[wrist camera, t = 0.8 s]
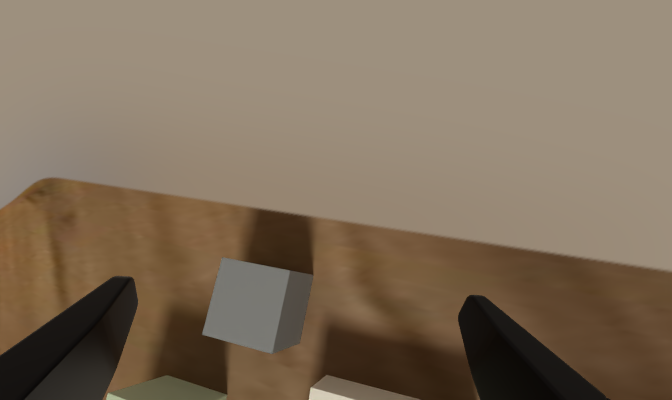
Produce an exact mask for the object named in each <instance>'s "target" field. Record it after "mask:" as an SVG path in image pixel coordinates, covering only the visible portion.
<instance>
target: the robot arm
mask: <svg viewBox="0 0 672 400" xmlns="http://www.w3.org/2000/svg"><path fill="white" fill-rule="evenodd" d="M137 306H138V298H137V292H136V287H135V282H134V279H133V278H132V277H127V276H114V277H112V278H110V279H109V280H108V281H106V282H105V283H103V284H102V285H100V286H99V287H97V288H96V289H95V290H93V291H92V292H90V293H89V294H87V295H86V296H85V297H83V298H82V299H80V300H79V301H77V302H76V303H75V304H73V305H72V306H70V307H69V308H67V309H66V310H65V311H63V312H62V313H60V314H59V315H57V316H56V317H55V318H53V319H52V320H50V321H49V322H47V323H46V324H45V325H43V326H42V327H40V328H39V329H37V330H36V331H35V332H33V333H32V334H30V335H29V336H27V337H26V338H25V339H23V340H22V341H20V342H19V343H17V344H16V345H14V346H13V347H12V348H10V349H9V350H7V351H6V352H4V353H3V354H2V355H0V400H102V399H103V397H104V395H105V393H106V390H107V388H108V386H109V384H110V382H111V380H112V377H113V375H114V373H115V371H116V368H117V365H118V363H119V360H120V357H121V354H122V351H123V348H124V345H125V342H126V339H127V336H128V333H129V330H130V327H131V325H132V322H133V319H134V316H135V313H136V310H137ZM458 322H459V326H460V330H461V334H462V339H463V343H464V347H465V351H466V355H467V359H468V363H469V367H470V371H471V374H472V377H473V380H474V383H475V386H476V389H477V392H478V395H479V397H480V400H610V399H609V398H606V396H605V395H604V394H603V393H601V392H600V391H599V390H598V389H597V388H595V387H594V386H593V385H592V384H590V383H589V382H588V381H587V380H586V379H584V378H583V377H582V376H581V375H580V374H578V373H577V372H576V371H575V370H573V369H572V368H571V367H570V366H569V365H567V364H566V363H565V362H564V361H562V360H561V359H560V358H559V357H558V356H556V355H555V354H554V353H553V352H552V351H550V350H549V349H548V348H547V347H545V346H544V345H543V344H542V343H541V342H539V341H538V340H537V339H536V338H534V337H533V336H532V335H531V334H530V333H528V332H527V331H526V330H525V329H524V328H522V327H521V326H520V325H519V324H517V323H516V322H515V321H514V320H513V319H511V318H510V317H509V316H508V315H506V314H505V313H504V312H503V311H502V310H500V309H499V308H498V307H497V306H496V305H494V304H493V303H492V302H491V301H489V300H488V299H487V298H486V297H484V296H481V295H469V296H468V297H467V299H466V301H465V302H464V304H463V306H462V308H461V310H460V312H459V315H458Z"/></svg>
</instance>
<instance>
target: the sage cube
mask: <svg viewBox="0 0 672 400" xmlns="http://www.w3.org/2000/svg"><path fill="white" fill-rule="evenodd" d="M226 398H227V394H224V393H221V392H218V391H214V390H211V389H208V388H205V387H202V386H199V385H196V384H193V383H190V382H187V381H184V380H181V379H178V378H175V377H172V376H169V375H166V376H162V377H159V378H156V379H153V380H149V381H146V382H143V383H140V384H136V385H133V386H130V387H127V388H123V389H120V390H117V391H114V392H111V393H108V396H107V399H106V400H226Z"/></svg>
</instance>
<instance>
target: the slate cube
mask: <svg viewBox="0 0 672 400" xmlns="http://www.w3.org/2000/svg"><path fill="white" fill-rule="evenodd" d="M312 280H313V275H311V274H306V273H301V272H296V271H291V270H286V269H281V268H276V267H271V266H266V265H261V264H255V263H250V262H245V261H239V260H234V259H229V258H223V257H222V260H221V264H220V268H219V272H218V275H217V279H216V283H215V287H214V291H213V295H212V298H211V302H210V306H209V310H208V314H207V318H206V321H205V325H204V329H203V333H202V335H205V336H209V337H213V338H216V339H220V340H224V341H227V342H231V343H234V344H238V345H242V346H245V347H249V348H253V349H256V350H260V351H263V352H267V353H271V354H273V353H276V352H278V351H281V350H283V349H286V348H289V347H291V346H294V345H296V344H299V343H300V339H301V334H302V329H303V324H304V320H305V315H306V310H307V305H308V300H309V295H310V290H311V285H312Z"/></svg>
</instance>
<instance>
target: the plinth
mask: <svg viewBox="0 0 672 400" xmlns="http://www.w3.org/2000/svg"><path fill="white" fill-rule="evenodd" d="M309 400H420V399H417V398H413V397H409V396H405V395H401V394H398V393H394V392H390V391H386V390H382V389H379V388H375V387H371V386H367V385H364V384H360V383H356V382H352V381H348V380H345V379H341V378H337V377H333V376H329V375H326V376H325V377H323V378H322V379H321V380H320V381H318V382H317V383H316V384H315V385H313V386H312V387H311V390H310V395H309Z"/></svg>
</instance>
